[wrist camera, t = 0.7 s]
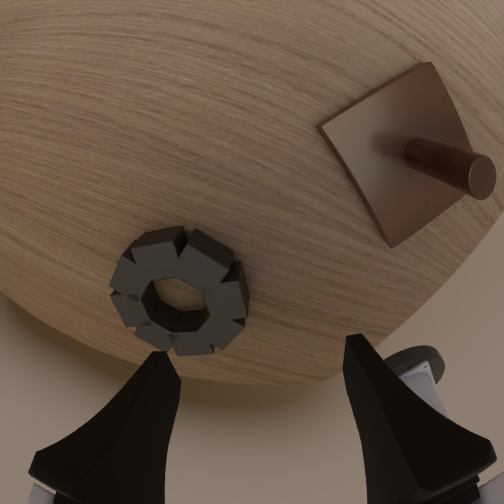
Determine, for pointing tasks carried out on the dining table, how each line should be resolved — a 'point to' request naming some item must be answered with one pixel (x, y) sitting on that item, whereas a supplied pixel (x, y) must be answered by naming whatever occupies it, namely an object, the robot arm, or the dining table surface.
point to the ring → (191, 272)
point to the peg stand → (408, 152)
